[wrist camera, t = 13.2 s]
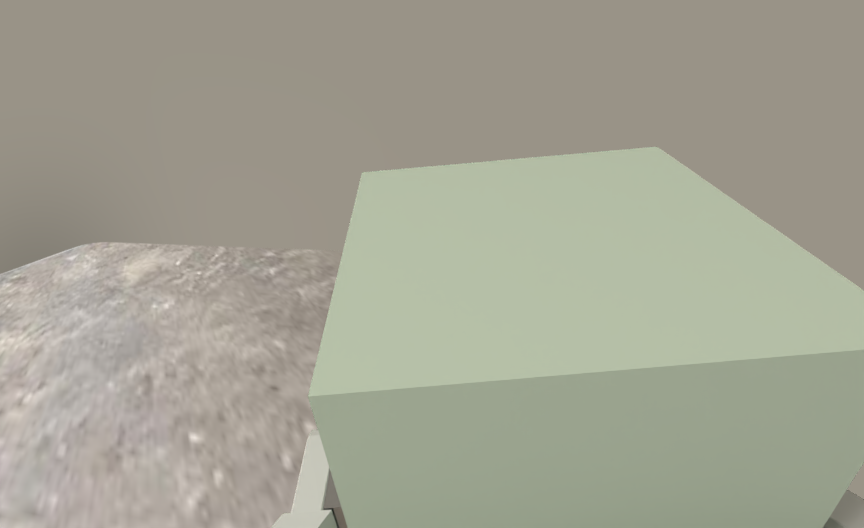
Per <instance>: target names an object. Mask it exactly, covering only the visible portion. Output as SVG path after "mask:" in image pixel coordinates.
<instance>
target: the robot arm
mask: <svg viewBox="0 0 864 528" xmlns="http://www.w3.org/2000/svg"><path fill="white" fill-rule="evenodd" d="M271 528H348V527H347V524H346V521H345V517H344V514H343V511H342V508H341V504H340V501H339V498H338V494H337V491H336V488H335V484H334V481H333V478H332V474H331V471H330V468H329V464H328V461H327V458H326V455H325V451H324V448H323V445H322V441H321V438H320V435H319V431H318V429H316V430H312V431H311V433H310V434H309V436H308V439H307V443H306V447H305V452H304V456H303V461H302V465H301V470H300V474H299V479H298V483H297V488H296V492H295V497H294V501H293V506H292V510H291V513H283V514H282V515H281V516H280V517H279V518H278V520H277V521H276V522H275V523H274V524H273V526H272V527H271ZM823 528H864V499H862V498H861V497H859V496H857V495H855V494H854V493H852V492H850V491H849V490H846V492H845V493H844V495H843V496H842V498H841V500H840V501H839V503H838V504H837V506H836V507H835V509H834V511H833V512H832V514H831V515H830V517H829V519H828V520H827V522H826V523H825V525H824V526H823Z"/></svg>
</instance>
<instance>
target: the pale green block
mask: <svg viewBox="0 0 864 528" xmlns="http://www.w3.org/2000/svg"><path fill="white" fill-rule="evenodd" d="M308 398H309V402H310V405H311V408H312V412H313V415H314V418H315V421H316V425H317V428H318V431H319V435H320V438H321V441H322V445H323V448H324V451H325V455H326V458H327V461H328V464H329V468H330V471H331V474H332V478H333V481H334V484H335V488H336V491H337V494H338V498H339V501H340V504H341V508H342V511H343V514H344V517H345V521H346V524H347V527H348V528H823V526H824V525H825V523H826V522H827V520H828V519H829V517H830V515H831V514H832V512H833V511H834V509H835V507H836V506H837V504H838V503H839V501H840V500H841V498H842V496H843V495H844V493H845V492H846V490H847V489H848V487H849V485H850V484H851V482H852V481H853V479H854V477H855V476H856V474H857V473H858V471H859V470H860V468H861V466H862V465H863V463H864V291H863V290H862V289H861V288H859V287H858V286H856V285H855V284H853V283H852V282H851V281H849V280H848V279H846V278H845V277H843V276H842V275H841V274H839V273H838V272H836V271H835V270H833V269H832V268H831V267H829V266H828V265H826V264H825V263H823V262H822V261H820V260H819V259H818V258H816V257H815V256H813V255H812V254H810V253H809V252H808V251H806V250H804V249H803V248H802V247H800V246H799V245H797V244H796V243H795V242H793V241H792V240H790V239H789V238H788V237H786V236H785V235H783V234H782V233H780V232H779V231H777V230H776V229H775V228H773V227H772V226H770V225H769V224H767V223H766V222H765V221H763V220H762V219H760V218H759V217H757V216H756V215H754V214H753V213H752V212H750V211H749V210H747V209H746V208H744V207H743V206H742V205H740V204H739V203H737V202H736V201H734V200H733V199H732V198H730V197H729V196H727V195H726V194H724V193H723V192H721V191H720V190H719V189H717V188H716V187H714V186H713V185H711V184H710V183H709V182H707V181H706V180H704V179H703V178H701V177H700V176H698V175H697V174H696V173H694V172H693V171H691V170H690V169H688V168H687V167H686V166H684V165H683V164H681V163H680V162H678V161H677V160H676V159H674V158H673V157H671V156H670V155H668V154H667V153H665V152H664V151H663V150H661V149H660V148H658V147H648V148H637V149H626V150H615V151H603V152H591V153H580V154H568V155H557V156H546V157H534V158H523V159H511V160H500V161H489V162H477V163H465V164H454V165H443V166H431V167H420V168H408V169H396V170H385V171H374V172H363V173H362V175H361V180H360V183H359V188H358V192H357V196H356V200H355V204H354V208H353V212H352V217H351V221H350V225H349V229H348V233H347V237H346V242H345V245H344V250H343V254H342V258H341V262H340V266H339V270H338V274H337V279H336V283H335V287H334V291H333V295H332V299H331V303H330V307H329V312H328V316H327V320H326V324H325V328H324V332H323V336H322V341H321V345H320V349H319V353H318V357H317V361H316V365H315V370H314V374H313V378H312V382H311V386H310V390H309V394H308Z"/></svg>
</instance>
